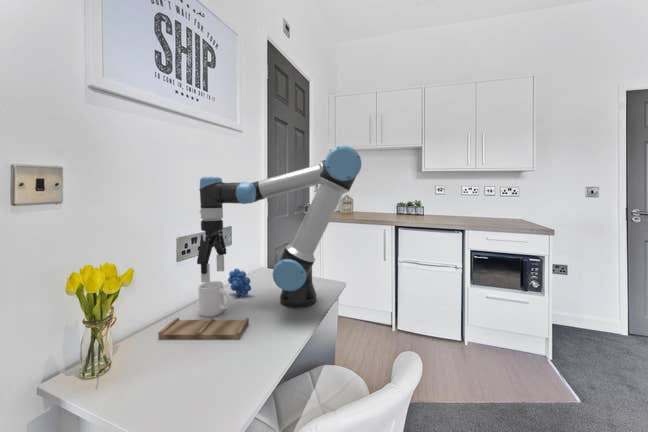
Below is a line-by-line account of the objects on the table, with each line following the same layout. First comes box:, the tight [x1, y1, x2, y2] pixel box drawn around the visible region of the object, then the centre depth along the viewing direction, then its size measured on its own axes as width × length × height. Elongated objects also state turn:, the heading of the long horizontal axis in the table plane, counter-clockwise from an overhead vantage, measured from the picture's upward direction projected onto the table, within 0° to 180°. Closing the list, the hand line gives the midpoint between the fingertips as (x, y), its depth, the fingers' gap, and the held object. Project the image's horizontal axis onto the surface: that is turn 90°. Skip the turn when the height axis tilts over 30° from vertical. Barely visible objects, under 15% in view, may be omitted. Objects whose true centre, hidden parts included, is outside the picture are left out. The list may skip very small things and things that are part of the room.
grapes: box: [227, 268, 252, 297], centre depth 120 cm, size 12×7×12 cm, turn 70°
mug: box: [197, 280, 230, 318], centre depth 104 cm, size 9×12×11 cm
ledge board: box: [158, 317, 250, 340], centre depth 90 cm, size 25×10×2 cm, turn 89°
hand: (213, 276), depth 103 cm, fingers open, 13 cm apart
